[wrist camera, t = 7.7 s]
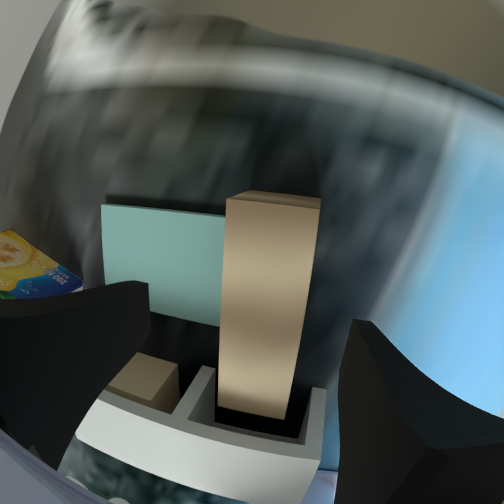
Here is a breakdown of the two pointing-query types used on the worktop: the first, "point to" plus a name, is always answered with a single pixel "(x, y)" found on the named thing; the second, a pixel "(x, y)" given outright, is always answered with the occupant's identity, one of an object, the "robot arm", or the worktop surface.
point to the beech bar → (264, 297)
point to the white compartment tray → (200, 436)
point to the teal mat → (167, 258)
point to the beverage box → (31, 271)
